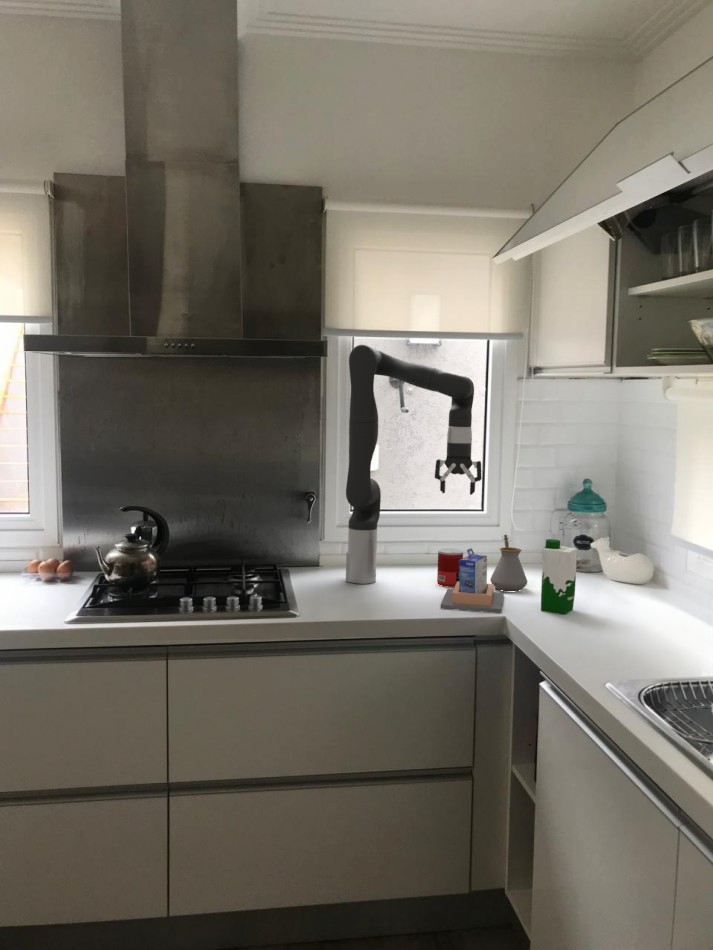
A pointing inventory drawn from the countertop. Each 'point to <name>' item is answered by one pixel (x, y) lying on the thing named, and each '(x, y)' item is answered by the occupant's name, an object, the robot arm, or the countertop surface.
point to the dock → (473, 600)
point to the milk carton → (558, 577)
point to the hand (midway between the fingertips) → (457, 493)
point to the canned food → (448, 566)
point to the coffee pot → (509, 570)
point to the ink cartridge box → (473, 574)
